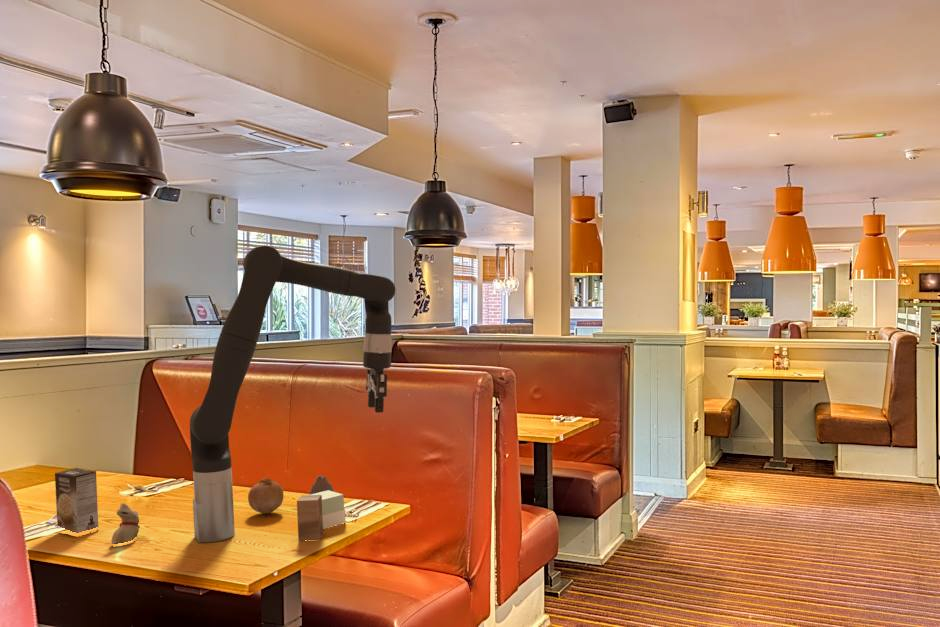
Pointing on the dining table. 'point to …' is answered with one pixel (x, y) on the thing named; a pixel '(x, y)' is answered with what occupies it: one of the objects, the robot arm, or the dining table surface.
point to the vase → (321, 485)
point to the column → (310, 517)
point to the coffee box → (76, 499)
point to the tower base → (334, 519)
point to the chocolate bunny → (126, 525)
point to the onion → (265, 496)
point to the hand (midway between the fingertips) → (375, 409)
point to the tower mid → (331, 502)
